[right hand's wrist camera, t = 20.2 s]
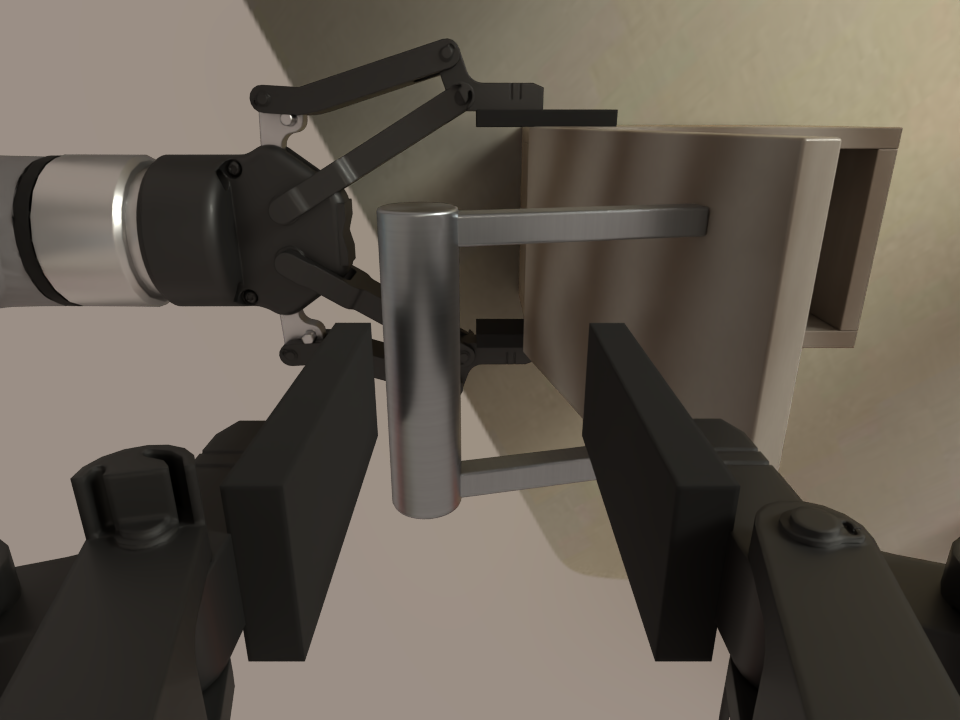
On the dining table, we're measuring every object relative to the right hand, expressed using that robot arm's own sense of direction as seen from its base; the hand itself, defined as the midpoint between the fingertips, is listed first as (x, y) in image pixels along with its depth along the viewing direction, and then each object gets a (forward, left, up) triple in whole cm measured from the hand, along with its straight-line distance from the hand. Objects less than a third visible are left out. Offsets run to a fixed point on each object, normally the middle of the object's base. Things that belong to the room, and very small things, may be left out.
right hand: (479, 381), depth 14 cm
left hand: (-1, +6, -20) cm, 21 cm away
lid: (0, +5, -8) cm, 9 cm away
